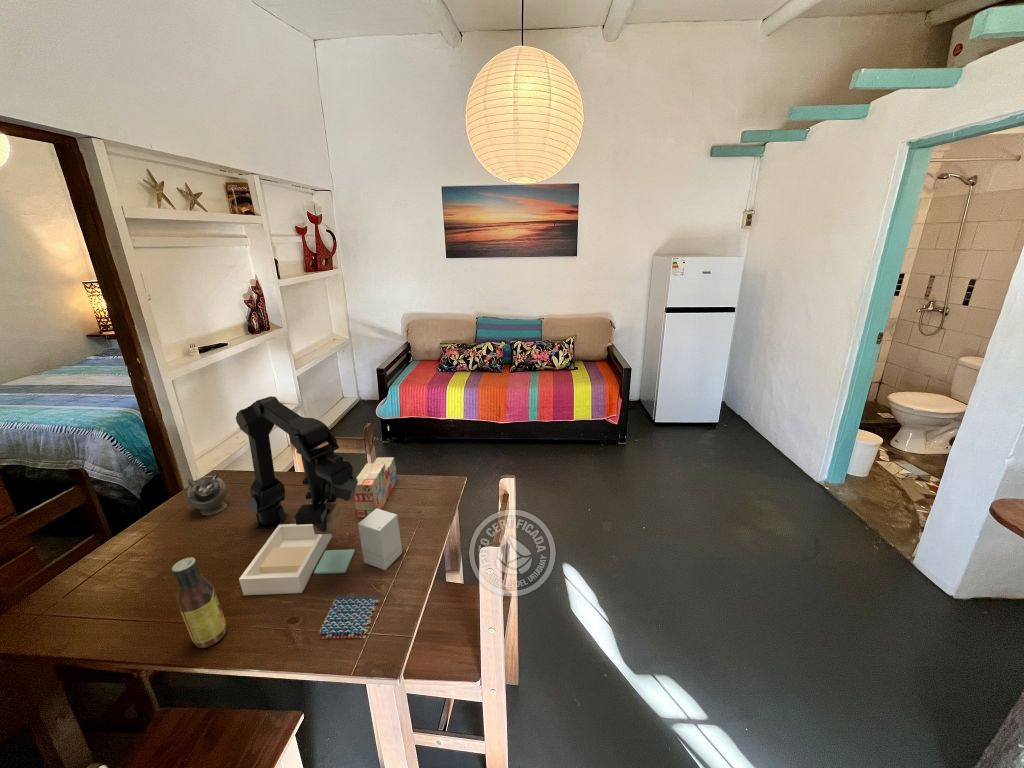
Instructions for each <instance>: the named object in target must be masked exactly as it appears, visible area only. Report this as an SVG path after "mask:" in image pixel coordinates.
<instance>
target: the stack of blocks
mask: <svg viewBox="0 0 1024 768" xmlns="http://www.w3.org/2000/svg"><path fill="white" fill-rule="evenodd" d="M396 467H397V466H396V463H395V457H388V456H387V457H376V458H375V460H374V461H373V462H372V463H370V462H369V463H368V462H367V463H366V464H365V465H364V467H363V468H362V469H361V471H360V473H359V474H357V476H356V479H357V481H358V483H357V486H356V489H355V493H354V494H353V496H352V498H353V502H354V506H355V512H356V518H358V519H359V518H360V519H361V518H362V519H364V518H365V517H367V516H368V515H369V514H370V513H371V512H373V511H374V510H375V509H376V508H377V509H380V510H383V507H384V505H385V504H386V502H387V500H386V499H388V498H389V496H390V494H391V492H392V490H393V488H394V487H395V485H396V483H397V482H398V473H397V468H396Z"/></svg>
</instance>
